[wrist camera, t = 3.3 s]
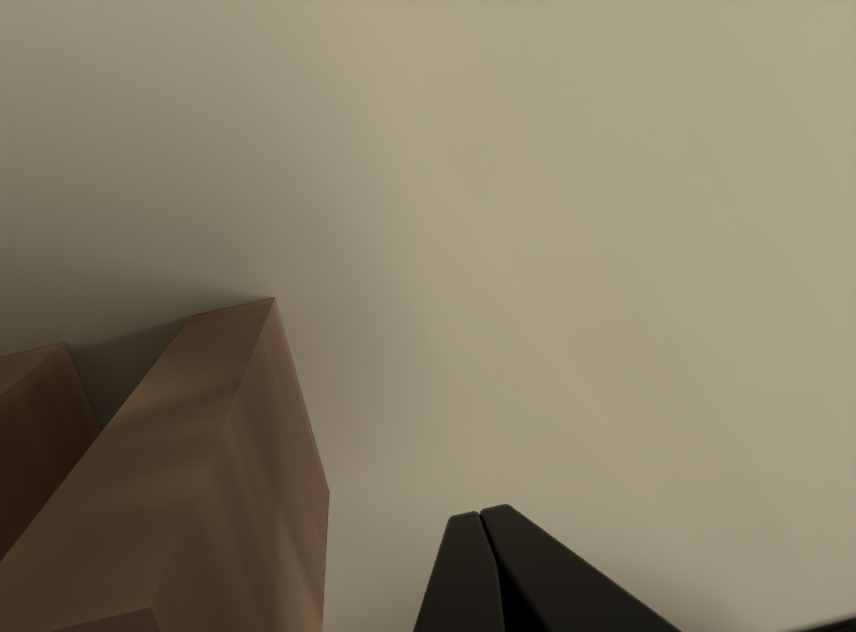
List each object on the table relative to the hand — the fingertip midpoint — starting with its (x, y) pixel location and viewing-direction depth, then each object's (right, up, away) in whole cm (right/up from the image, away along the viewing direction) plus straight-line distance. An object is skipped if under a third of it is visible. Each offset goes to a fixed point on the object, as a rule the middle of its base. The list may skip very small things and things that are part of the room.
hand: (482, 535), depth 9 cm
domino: (-4, +1, +6) cm, 7 cm away
